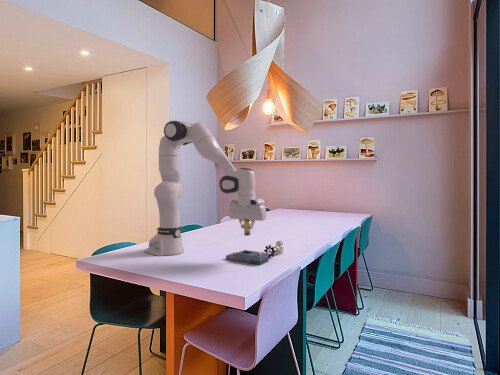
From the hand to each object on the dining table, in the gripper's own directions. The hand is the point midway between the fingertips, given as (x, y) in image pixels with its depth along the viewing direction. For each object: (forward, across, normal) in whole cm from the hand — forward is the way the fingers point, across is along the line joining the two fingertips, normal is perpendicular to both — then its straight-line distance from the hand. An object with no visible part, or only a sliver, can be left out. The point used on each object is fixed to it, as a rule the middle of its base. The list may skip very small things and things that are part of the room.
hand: (247, 228), depth 167 cm
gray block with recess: (+16, 0, 0) cm, 16 cm away
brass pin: (+3, 0, 0) cm, 3 cm away
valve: (+16, +7, +16) cm, 24 cm away
